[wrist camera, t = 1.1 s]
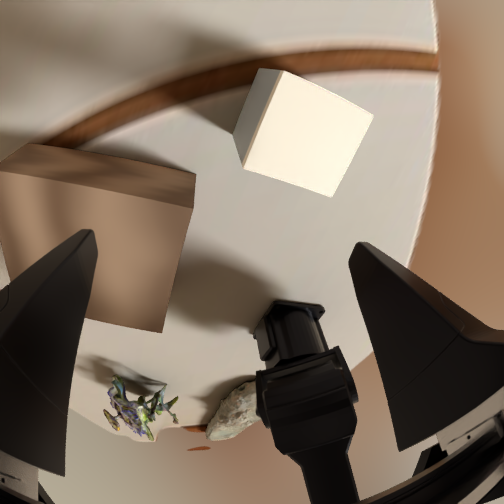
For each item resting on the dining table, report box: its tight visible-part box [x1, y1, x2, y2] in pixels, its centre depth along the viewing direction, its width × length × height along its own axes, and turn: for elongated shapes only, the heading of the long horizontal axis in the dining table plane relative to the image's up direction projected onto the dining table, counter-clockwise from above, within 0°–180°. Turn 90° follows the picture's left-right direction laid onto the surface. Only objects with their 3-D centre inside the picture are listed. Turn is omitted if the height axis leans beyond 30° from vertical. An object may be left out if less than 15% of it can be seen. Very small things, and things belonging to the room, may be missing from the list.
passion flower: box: [103, 375, 178, 441], centre depth 35 cm, size 11×11×12 cm
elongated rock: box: [205, 381, 262, 441], centre depth 48 cm, size 35×5×10 cm
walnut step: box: [0, 143, 196, 333], centre depth 18 cm, size 14×12×5 cm
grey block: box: [232, 68, 374, 198], centre depth 15 cm, size 5×5×6 cm
